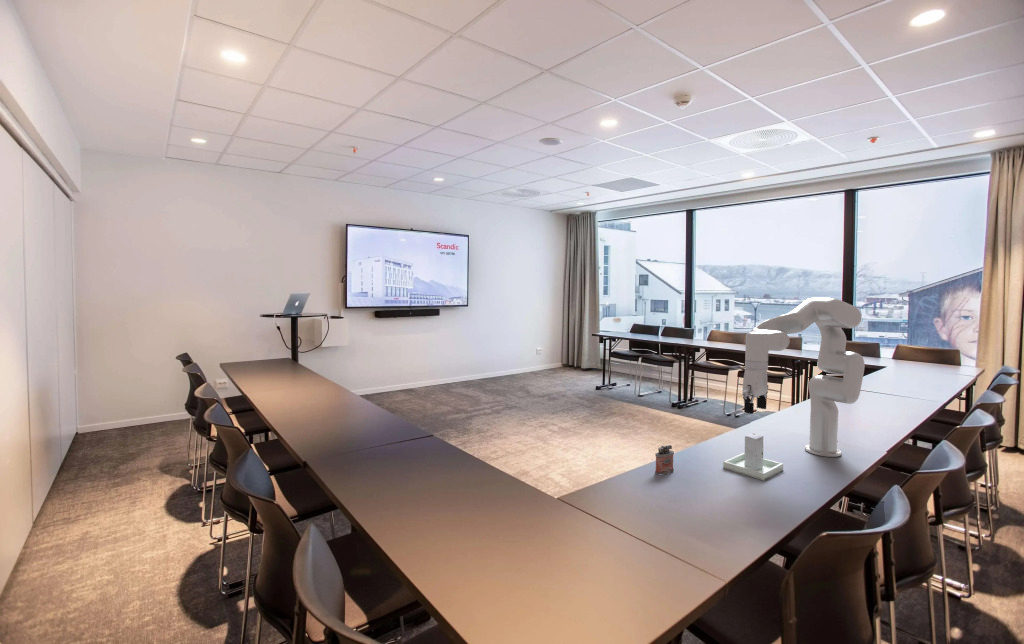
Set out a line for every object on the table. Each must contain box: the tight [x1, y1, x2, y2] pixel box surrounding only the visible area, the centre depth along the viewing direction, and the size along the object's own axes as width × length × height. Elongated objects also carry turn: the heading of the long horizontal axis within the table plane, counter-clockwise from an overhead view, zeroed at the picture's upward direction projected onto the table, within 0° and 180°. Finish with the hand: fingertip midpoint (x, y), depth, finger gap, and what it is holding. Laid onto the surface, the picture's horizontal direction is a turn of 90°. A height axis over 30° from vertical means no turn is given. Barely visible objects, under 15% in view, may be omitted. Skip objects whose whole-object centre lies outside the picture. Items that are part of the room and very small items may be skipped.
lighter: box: [654, 444, 675, 475], centre depth 177 cm, size 8×3×10 cm, turn 117°
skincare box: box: [744, 433, 764, 470], centre depth 179 cm, size 6×4×12 cm
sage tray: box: [722, 452, 784, 481], centre depth 179 cm, size 15×15×2 cm
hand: (755, 410), depth 178 cm, fingers open, 9 cm apart
